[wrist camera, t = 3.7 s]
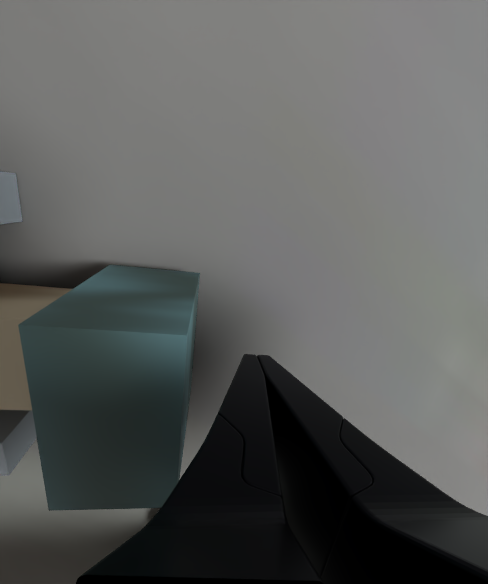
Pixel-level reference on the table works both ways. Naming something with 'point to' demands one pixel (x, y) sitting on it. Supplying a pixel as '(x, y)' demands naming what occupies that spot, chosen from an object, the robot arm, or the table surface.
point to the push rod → (103, 382)
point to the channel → (13, 423)
